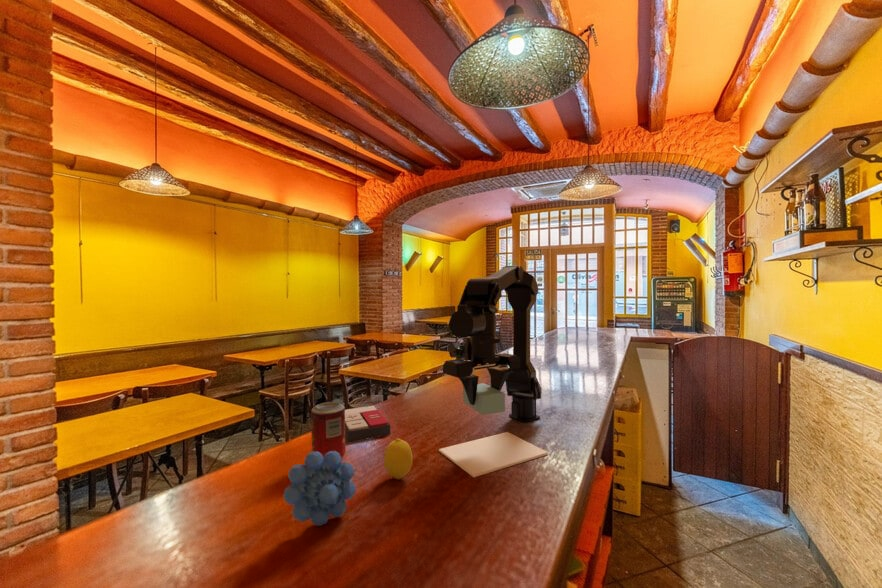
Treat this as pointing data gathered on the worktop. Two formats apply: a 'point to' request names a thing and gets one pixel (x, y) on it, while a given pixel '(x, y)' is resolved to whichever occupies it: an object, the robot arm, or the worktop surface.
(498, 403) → the grey-green block
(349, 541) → the worktop surface
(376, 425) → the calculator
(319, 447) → the soda can
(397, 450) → the lemon
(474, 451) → the mat
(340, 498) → the blue knobbed flower
